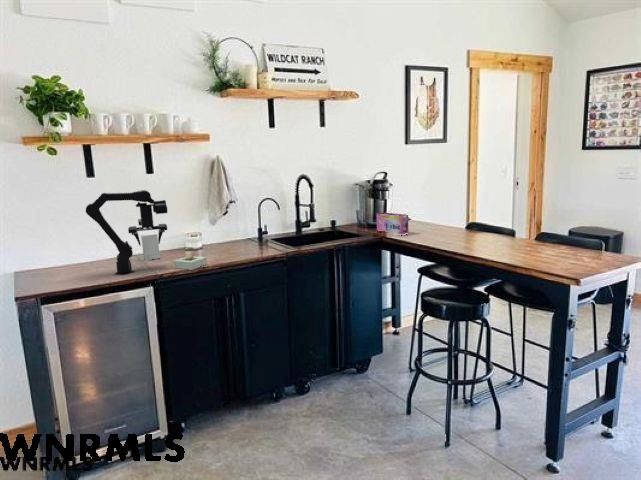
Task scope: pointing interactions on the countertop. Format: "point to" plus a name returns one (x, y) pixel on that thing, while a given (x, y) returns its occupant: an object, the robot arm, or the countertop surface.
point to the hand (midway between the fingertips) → (149, 244)
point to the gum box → (392, 223)
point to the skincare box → (150, 246)
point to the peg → (189, 254)
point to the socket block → (189, 263)
